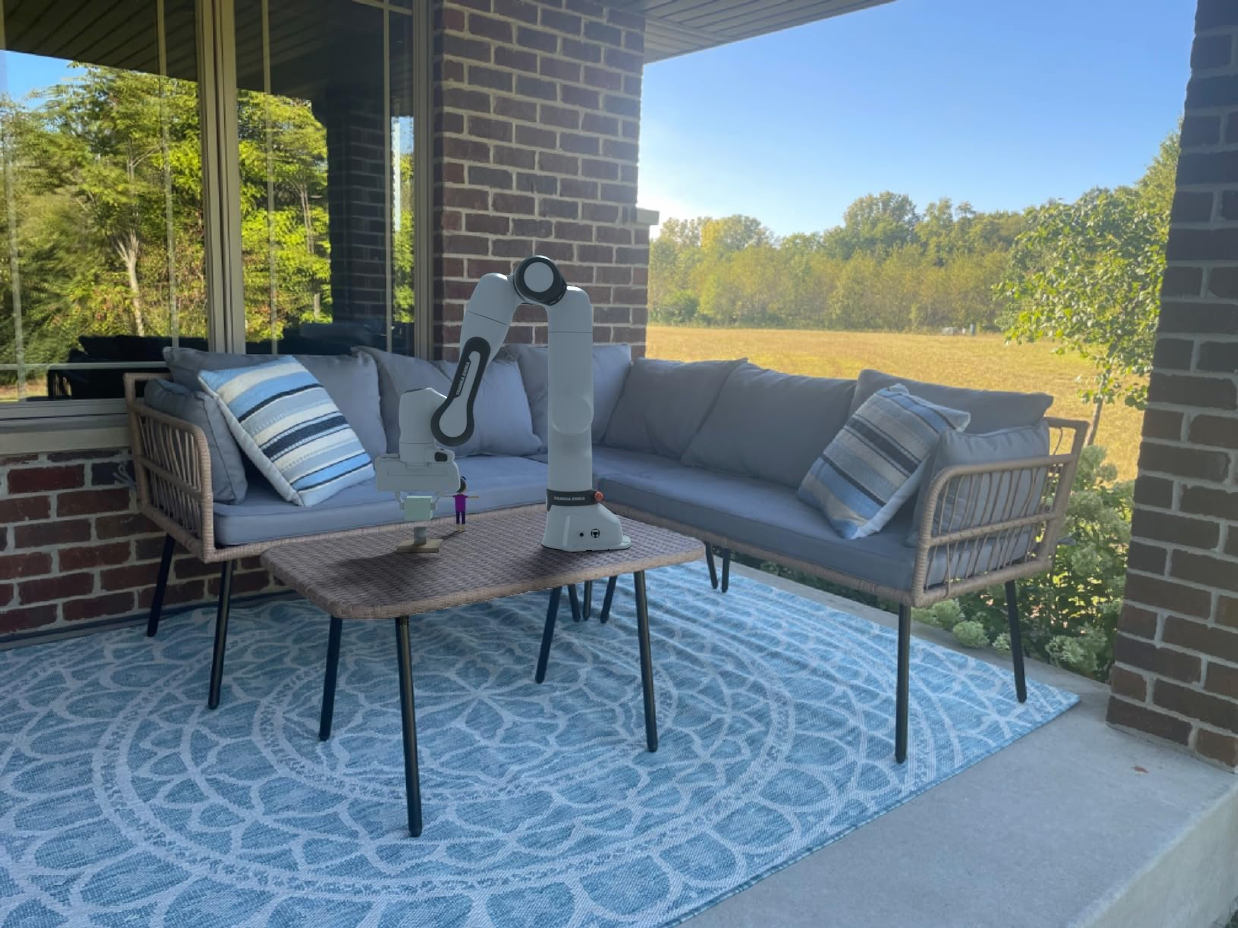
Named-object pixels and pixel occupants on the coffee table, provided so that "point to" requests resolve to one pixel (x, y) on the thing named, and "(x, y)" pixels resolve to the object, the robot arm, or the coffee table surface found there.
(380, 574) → the coffee table surface
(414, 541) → the stand
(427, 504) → the pale aqua cube
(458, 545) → the coffee table surface
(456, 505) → the toy
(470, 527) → the coffee table surface
